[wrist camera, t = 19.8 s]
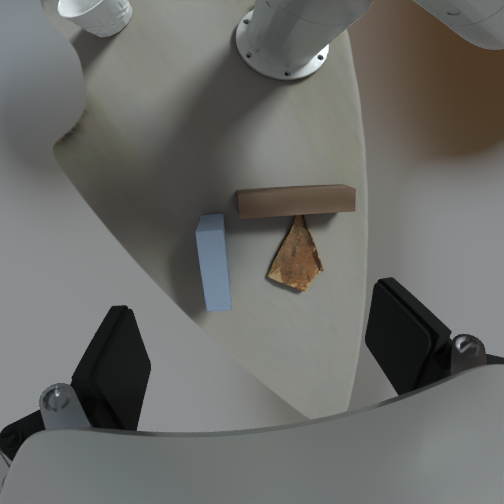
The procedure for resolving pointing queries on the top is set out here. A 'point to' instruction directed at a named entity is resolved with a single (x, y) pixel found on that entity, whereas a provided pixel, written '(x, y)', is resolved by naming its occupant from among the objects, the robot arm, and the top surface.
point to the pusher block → (214, 262)
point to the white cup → (97, 15)
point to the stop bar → (295, 200)
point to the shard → (297, 258)
